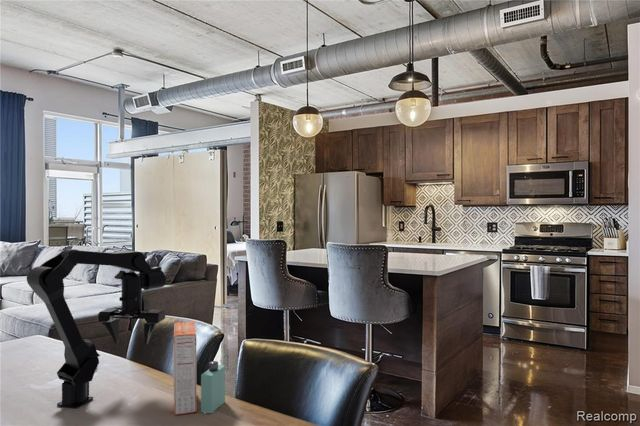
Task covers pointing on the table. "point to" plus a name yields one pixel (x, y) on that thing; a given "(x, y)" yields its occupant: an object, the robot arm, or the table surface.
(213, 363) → the teal flask bottle
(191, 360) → the cracker box
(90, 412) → the table surface
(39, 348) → the table surface
